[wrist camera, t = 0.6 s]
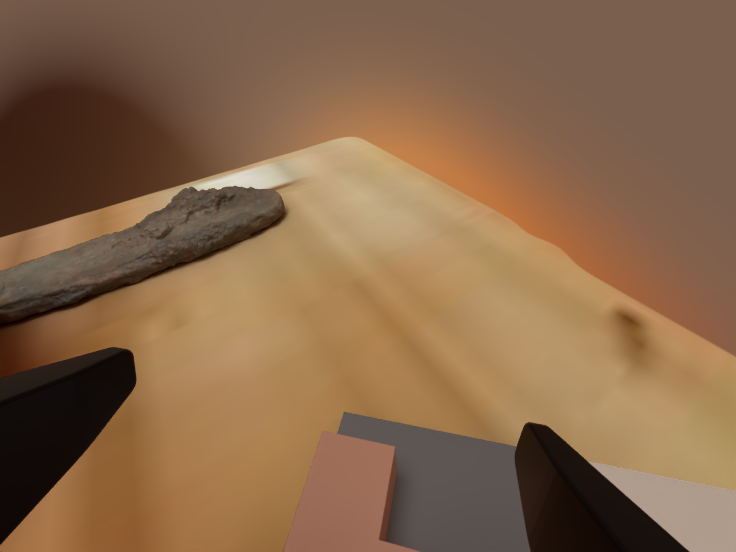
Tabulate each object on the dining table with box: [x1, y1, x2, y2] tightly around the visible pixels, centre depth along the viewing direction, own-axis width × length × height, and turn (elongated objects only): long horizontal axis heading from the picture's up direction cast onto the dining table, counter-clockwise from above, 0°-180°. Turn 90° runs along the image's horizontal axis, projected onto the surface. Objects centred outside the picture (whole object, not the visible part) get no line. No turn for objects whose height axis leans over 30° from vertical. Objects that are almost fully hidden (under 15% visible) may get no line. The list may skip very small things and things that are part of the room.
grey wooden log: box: [0, 186, 285, 324], centre depth 39 cm, size 35×5×10 cm
